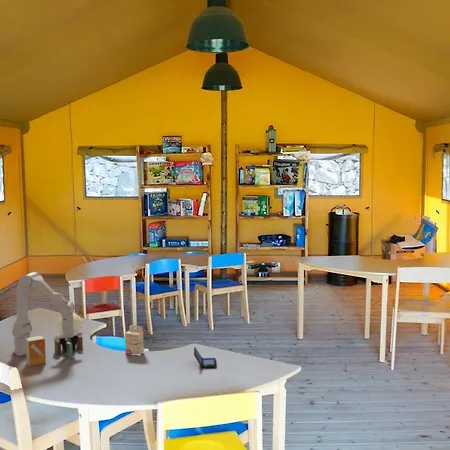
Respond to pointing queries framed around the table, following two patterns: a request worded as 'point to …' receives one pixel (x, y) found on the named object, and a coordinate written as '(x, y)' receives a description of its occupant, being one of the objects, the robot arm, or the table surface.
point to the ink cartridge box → (134, 340)
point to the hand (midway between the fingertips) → (69, 351)
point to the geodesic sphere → (76, 323)
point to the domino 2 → (69, 350)
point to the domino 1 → (57, 347)
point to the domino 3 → (79, 343)
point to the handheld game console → (204, 360)
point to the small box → (35, 350)
